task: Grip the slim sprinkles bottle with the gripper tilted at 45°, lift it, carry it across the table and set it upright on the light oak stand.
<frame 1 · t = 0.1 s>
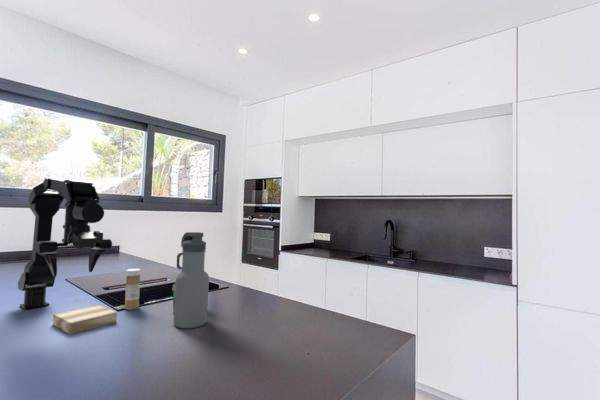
hand: (73, 274, 92), 15 cm above the worktop, tool pointing down, fingers open, 9 cm apart
sprinkles bottle: (131, 308, 108), on the worktop
oak stand: (85, 323, 92), on the worktop
water bottle: (190, 324, 95), on the worktop
food container: (189, 310, 108), on the worktop
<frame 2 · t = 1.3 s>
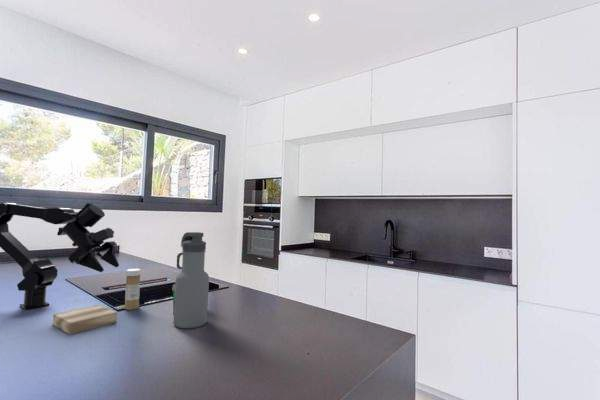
hand: (110, 268, 108), 13 cm above the worktop, tool tilted 45°, fingers open, 9 cm apart
nothing on the worktop moved.
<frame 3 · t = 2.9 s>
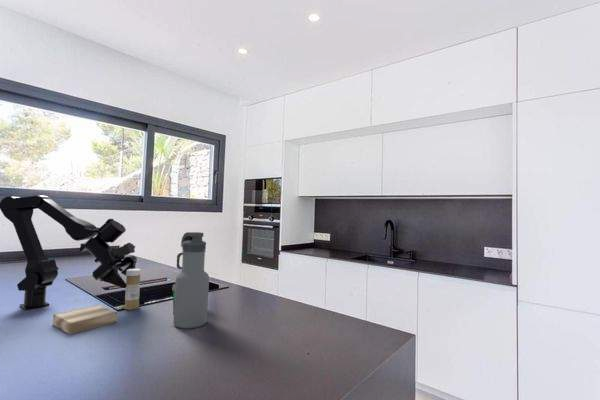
hand: (132, 284, 108), 8 cm above the worktop, tool tilted 45°, fingers open, 9 cm apart
nothing on the worktop moved.
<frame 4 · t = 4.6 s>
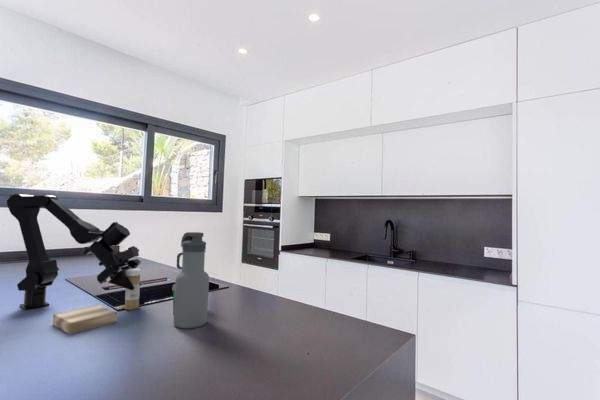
hand: (136, 287, 108), 7 cm above the worktop, tool tilted 45°, fingers closed on sprinkles bottle, 4 cm apart
sprinkles bottle: (131, 308, 108), on the worktop, touching gripper
everything else where it was.
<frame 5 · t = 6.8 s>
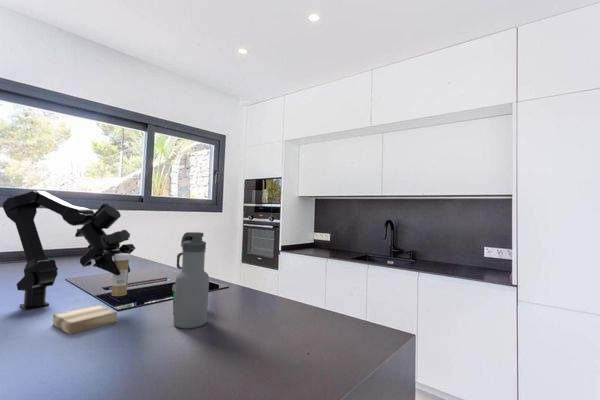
hand: (124, 273, 102), 13 cm above the worktop, tool tilted 45°, fingers closed on sprinkles bottle, 4 cm apart
sprinkles bottle: (118, 295, 102), point 6 cm above the worktop, touching gripper
everything else where it was.
when the fingers open (11 cm above the worktop, at t = 9.3 s): sprinkles bottle drops 1 cm, resting on oak stand.
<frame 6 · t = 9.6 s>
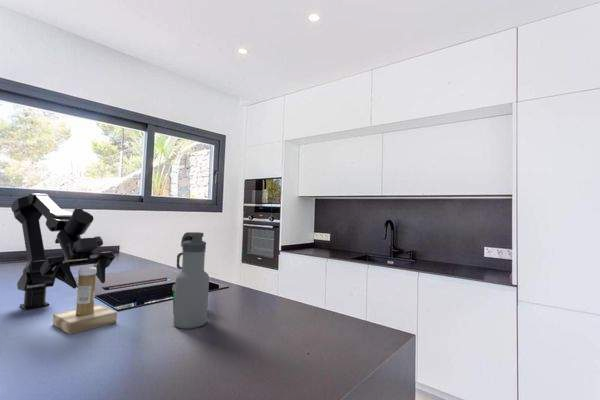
hand: (90, 284, 92), 12 cm above the worktop, tool tilted 45°, fingers open, 8 cm apart
sprinkles bottle: (84, 313, 92), point 3 cm above the worktop, touching oak stand
everything else where it was.
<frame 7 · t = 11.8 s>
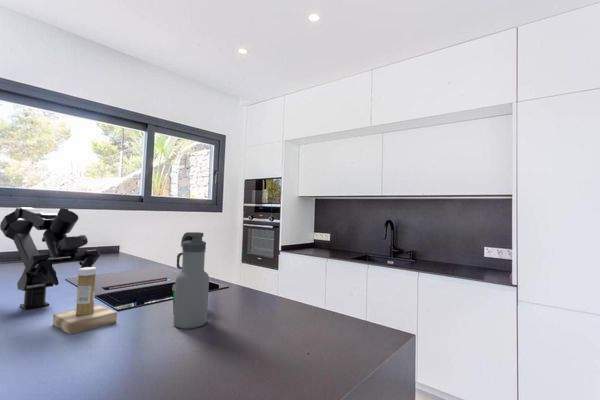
hand: (74, 281, 96), 11 cm above the worktop, tool tilted 45°, fingers open, 9 cm apart
nothing on the worktop moved.
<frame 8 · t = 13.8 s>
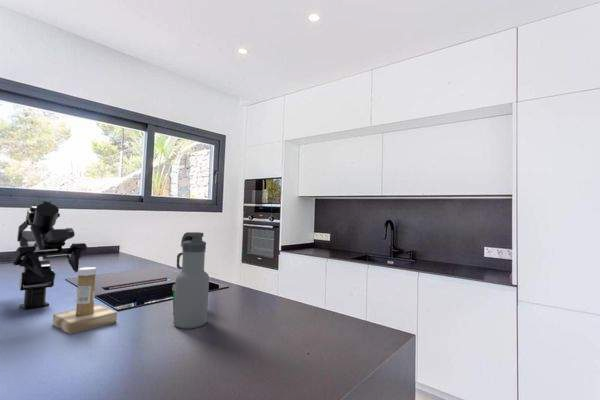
hand: (60, 273, 97), 14 cm above the worktop, tool tilted 45°, fingers open, 9 cm apart
nothing on the worktop moved.
at the end: sprinkles bottle inside the target area on the oak stand (0.3 cm from its centre), point 2.8 cm above the oak stand's base; sprinkles bottle tilted 0°; the gripper is holding nothing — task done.
